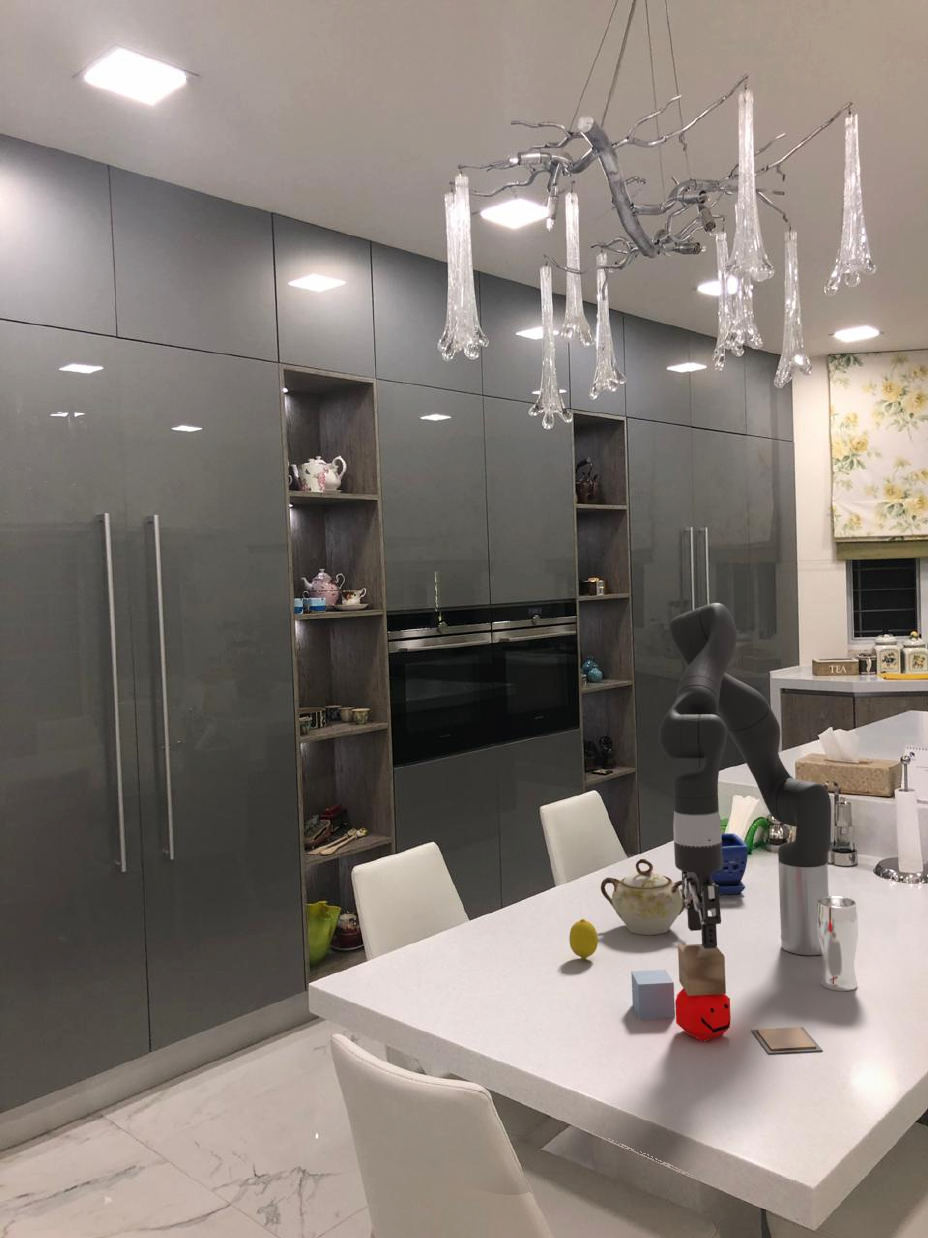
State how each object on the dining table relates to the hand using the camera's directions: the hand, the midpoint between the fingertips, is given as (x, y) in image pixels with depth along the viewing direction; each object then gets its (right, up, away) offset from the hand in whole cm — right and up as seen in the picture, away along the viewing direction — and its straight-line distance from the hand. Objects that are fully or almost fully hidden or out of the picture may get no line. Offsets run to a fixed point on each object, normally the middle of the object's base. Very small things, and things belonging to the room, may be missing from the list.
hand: (702, 938), depth 163 cm
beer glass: (+29, -14, +18) cm, 37 cm away
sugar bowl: (+1, -15, +52) cm, 55 cm away
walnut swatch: (+13, -15, -3) cm, 20 cm away
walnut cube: (0, -8, 0) cm, 8 cm away
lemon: (-15, -16, +36) cm, 42 cm away
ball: (0, -16, 0) cm, 16 cm away
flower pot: (+22, -13, +79) cm, 83 cm away
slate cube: (-6, -16, +10) cm, 20 cm away
